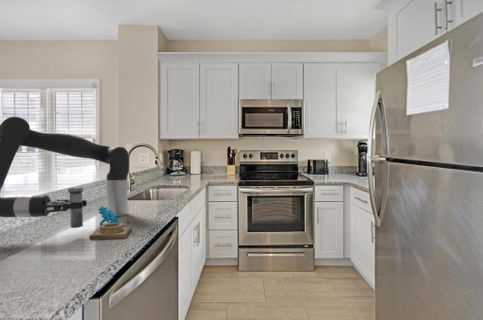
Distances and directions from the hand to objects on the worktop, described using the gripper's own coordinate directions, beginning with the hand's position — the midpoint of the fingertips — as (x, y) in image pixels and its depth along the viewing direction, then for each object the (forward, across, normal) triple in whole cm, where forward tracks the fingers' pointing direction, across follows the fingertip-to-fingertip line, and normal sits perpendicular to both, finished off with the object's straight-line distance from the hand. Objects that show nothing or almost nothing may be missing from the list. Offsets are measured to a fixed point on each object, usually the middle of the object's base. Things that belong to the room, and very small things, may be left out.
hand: (84, 204), depth 114 cm
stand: (+9, +1, +12) cm, 15 cm away
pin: (-3, 0, +8) cm, 8 cm away
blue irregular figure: (+4, +19, +12) cm, 23 cm away
